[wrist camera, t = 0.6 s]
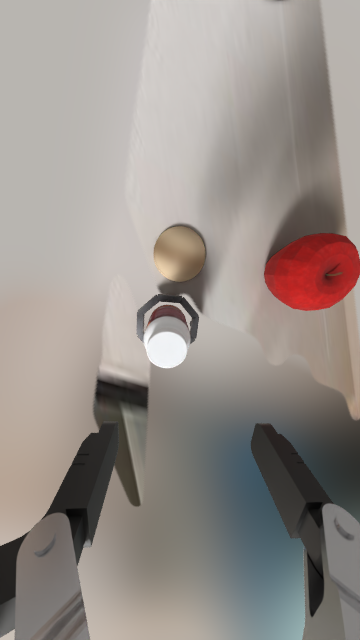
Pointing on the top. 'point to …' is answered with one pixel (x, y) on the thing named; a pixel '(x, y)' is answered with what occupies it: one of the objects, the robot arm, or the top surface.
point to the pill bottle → (167, 337)
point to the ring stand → (167, 299)
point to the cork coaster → (179, 254)
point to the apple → (313, 271)
